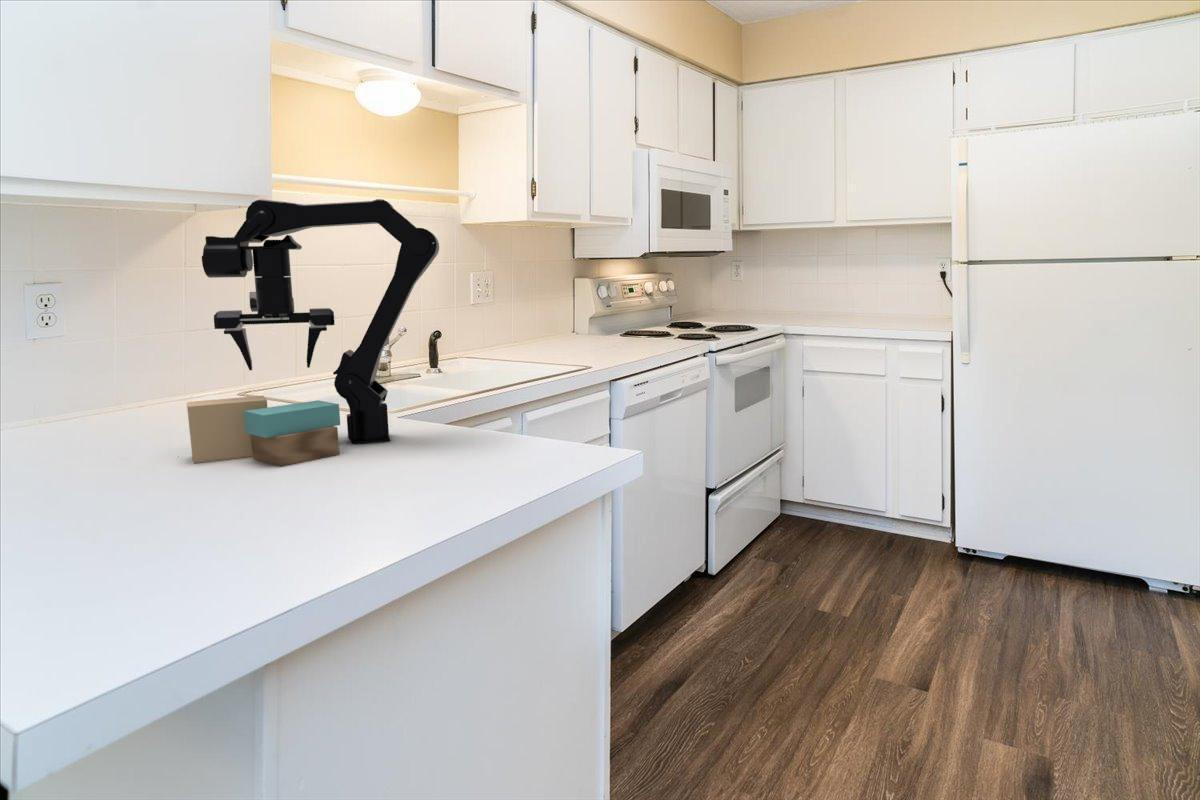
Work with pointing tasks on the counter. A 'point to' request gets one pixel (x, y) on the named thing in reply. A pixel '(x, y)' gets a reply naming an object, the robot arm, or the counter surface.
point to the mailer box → (221, 428)
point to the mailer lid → (291, 418)
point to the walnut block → (296, 446)
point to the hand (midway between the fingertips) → (280, 368)
